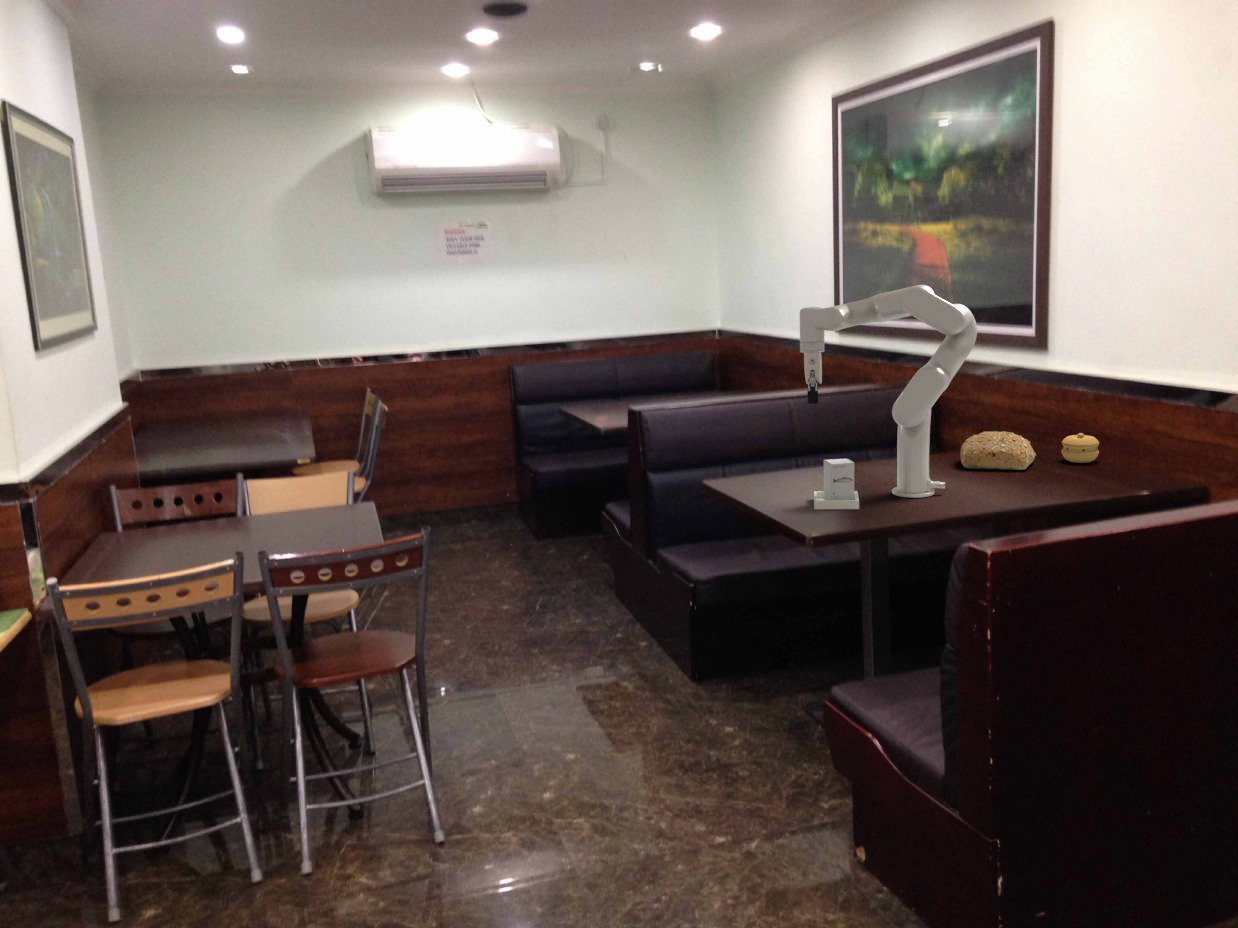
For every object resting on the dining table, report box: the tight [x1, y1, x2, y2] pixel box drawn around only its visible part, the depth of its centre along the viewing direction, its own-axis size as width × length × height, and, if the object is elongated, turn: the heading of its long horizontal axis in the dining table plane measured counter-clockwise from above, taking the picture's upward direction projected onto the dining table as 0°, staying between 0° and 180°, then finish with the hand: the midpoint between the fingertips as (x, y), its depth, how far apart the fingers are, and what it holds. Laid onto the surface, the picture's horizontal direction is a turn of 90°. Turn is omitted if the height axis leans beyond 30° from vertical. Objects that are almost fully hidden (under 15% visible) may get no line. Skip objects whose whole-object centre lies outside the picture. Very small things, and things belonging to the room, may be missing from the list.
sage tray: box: [813, 490, 860, 510], centre depth 311 cm, size 13×13×2 cm
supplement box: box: [823, 458, 855, 500], centre depth 310 cm, size 7×7×13 cm
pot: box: [1060, 432, 1100, 464], centre depth 352 cm, size 12×12×10 cm
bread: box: [959, 430, 1037, 471], centre depth 353 cm, size 24×21×12 cm
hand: (812, 401), depth 327 cm, fingers open, 9 cm apart
